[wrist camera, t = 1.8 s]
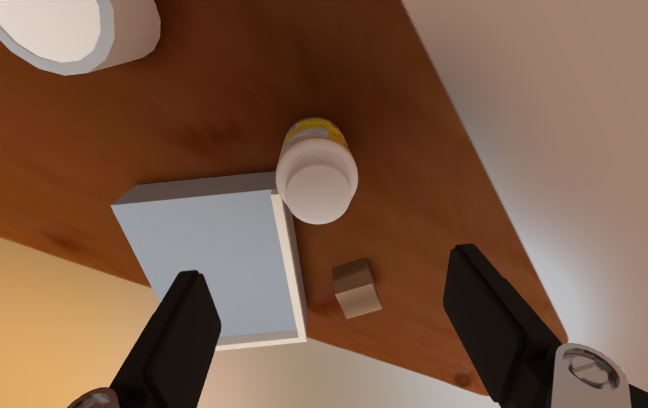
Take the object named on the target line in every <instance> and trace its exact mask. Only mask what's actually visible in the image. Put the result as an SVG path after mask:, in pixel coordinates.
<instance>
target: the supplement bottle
mask: <svg viewBox="0 0 648 408" xmlns="http://www.w3.org/2000/svg"><path fill="white" fill-rule="evenodd" d="M357 184H358V171H357V167H356V164H355V161H354V159H353V157H352V154H351V152H350V150H349V147H348V145H347V143H346V141H345V138H344V136H343V134H342V132H341V131H340V129H339V128H338V127H337V126H336V125H335V124H334V123H332V122H331V121H329V120H327V119H324V118H320V117H308V118H305V119H302V120H300V121H298V122H297V123H295V124H294V125H293V126H292V127H291V128H290V129H289V131H288V132H287V134H286V136H285V139H284V142H283V146H282V150H281V154H280V158H279V161H278V165H277V169H276V186H277V190H278V192H279V195H280V197H281V198H282V200H283V201H284V202H285V203H286V204H287V205H288V207H289V209H290V211H291V212H292V213H293V214H294V215H295V216H296V217H297V218H299V219H300V220H302V221H304V222H306V223H310V224H326V223H329V222H332V221H334V220H336V219H338V218H339V217H340V216H341V215H343V213H344V212H345V211H346V210H347V208H348V206H349V204H350V200H351V199H352V197H353V196H354V194H355V191H356V188H357Z"/></svg>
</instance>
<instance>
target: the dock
mask: <svg viewBox="0 0 648 408" xmlns="http://www.w3.org/2000/svg"><path fill="white" fill-rule="evenodd" d="M110 206H111V208H112V210H113V212H114V214H115V216H116V218H117V220H118V221H119V223H120V225H121V227H122V229H123V231H124V233H125V235H126V237H127V239H128V241H129V243H130V245H131V247H132V249H133V251H134V253H135V255H136V257H137V259H138V261H139V263H140V265H141V267H142V269H143V271H144V273H145V275H146V277H147V279H148V281H149V283H150V285H151V287H152V289H153V290H154V292H155V294H156V296H157V298H158V300H159V302H160V303H161V301H162V300H163V298H164V296H165V295H166V293H167V291H168V290H169V288H170V286H171V285H172V283H173V281H174V280H175V278H176V276H177V275H178V273H179V272H181V271H189V270H197V271H198V272H199V273H202V274H203V275H204V277H205V280H206V283H207V285H208V288H209V291H210V293H211V296H212V299H213V301H214V304H215V307H216V310H217V312H218V315H219V318H220V320H221V333H220V336H219V339H218V342H217V345H216V348H215V351H220V350H230V349H239V348H249V347H258V346H269V345H278V344H289V343H298V342H307V303H306V297H305V290H304V284H303V278H302V272H301V266H300V260H299V253H298V247H297V241H296V235H295V229H294V223H293V216H292V212H291V211H290V209H289V207H288V205H287V204H286V203H285V202H284V201H283V200H282V198H281V197H280V195H279V192H278V190H277V186H276V171H272V172H262V173H252V174H241V175H231V176H221V177H211V178H201V179H191V180H181V181H171V182H161V183H151V184H141V185H136V186H134V187H133V188H132V189H131V190H129V191H128V192H127V193H125V194H124V195H123V196H122V197H120V198H119V199H118V200H117V201H115V202H114V203H113V204H112V205H110Z"/></svg>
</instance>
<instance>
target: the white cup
mask: <svg viewBox="0 0 648 408" xmlns="http://www.w3.org/2000/svg"><path fill="white" fill-rule="evenodd" d="M160 24H161V20H160V17H159V14H158V11H157V8H156V4H155V2H154V0H0V40H1V41H2V43H3V44H4V45H5V46H6V47H7V48H8V49H9V50H10V51H11V52H13V53H14V54H16V55H18V56H19V57H21V58H23V59H24V60H26V61H27V62H29V63H31V64H32V65H34V66H35V67H37V68H39V69H43V70H46V71H50V72H54V73H57V74H61V75H65V76H66V75H74V74H82V73H89V72H93V71H96V70H100V69H104V68H107V67H111V66H115V65H118V64H122V63H126V62H129V61H133V60H137V59H140V58H143V57H145V56H146V55H148V54H149V53H150V52H152V51H153V50H154V49H155V47H156V45H157V43H158V41H159V38H160Z"/></svg>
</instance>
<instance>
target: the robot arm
mask: <svg viewBox="0 0 648 408" xmlns="http://www.w3.org/2000/svg"><path fill="white" fill-rule="evenodd" d="M443 305H444V309H445V311H446V313H447V315H448V317H449V319H450V321H451V323H452V325H453V327H454V328H455V330H456V332H457V334H458V336H459V338H460V340H461V342H462V344H463V346H464V348H465V349H466V351H467V353H468V355H469V357H470V359H471V361H472V363H473V365H474V367H475V369H476V371H477V372H478V374H479V376H480V378H481V380H482V382H483V384H484V386H485V388H486V390H487V392H488V393H489V395H490V397H491V399H492V400H493V401H494V402H498V403H499V405H500V407H501V408H648V392H645V391H643V390H641V389H639V388H637V387H635V386H633V385H630V384H628V381H627V378H626V376H625V374H624V373H623V372H622V370H621V369H620V367H619V366H618V365H616V364H615V363H614V362H613V361H612V360H611V359H610V358H608V357H607V356H605V355H604V354H602V353H601V352H599V351H597V350H595V349H592V348H590V347H588V346H584V345H581V344H574V343H568V344H562V343H561V342H560V341H559V339H558V338H557V337H556V336H555V335H554V334H553V332H552V331H551V330H550V329H549V328H548V327H547V326H546V324H545V323H544V322H543V321H542V320H541V319H540V317H539V316H538V315H537V314H536V313H535V312H534V311H533V309H532V308H531V307H530V306H529V305H528V304H527V302H526V301H525V300H524V299H523V298H522V297H521V296H520V294H519V293H518V292H517V291H516V290H515V289H514V287H513V286H512V285H511V284H510V283H509V282H508V281H507V280H506V279H505V278H503V277H502V276H501V275H500V274H499V272H498V271H497V270H496V269H495V268H494V267H493V265H492V264H491V263H490V262H489V261H488V260H487V258H486V257H485V256H484V255H483V254H482V253H481V251H480V250H479V249H478V248H477V247H476V246H475V245H474V244H472V243H471V244H461V245H456V246H455V249H452V250H451V252H450V258H449V264H448V271H447V278H446V284H445V291H444V298H443ZM220 333H221V320H220V318H219V315H218V312H217V310H216V307H215V304H214V301H213V299H212V296H211V293H210V291H209V288H208V285H207V283H206V280H205V277H204V275H203V274H202V273H199V272H198V271H197V270H189V271H181V272H179V273H178V275H177V276H176V278H175V280H174V281H173V283H172V285H171V286H170V288H169V290H168V291H167V293H166V295H165V296H164V298H163V300H162V301H161V303H160V305H159V306H158V308H157V310H156V312H155V313H154V314H153V315H152V317H151V318H150V320H149V322H148V323H147V325H146V327H145V328H144V330H143V332H142V333H141V335H140V337H139V338H138V340H137V342H136V343H135V345H134V347H133V348H132V350H131V352H130V353H129V355H128V356H127V358H126V360H125V361H124V363H123V365H122V366H121V368H120V370H119V371H118V373H117V375H116V377H115V378H114V380H113V382H112V383H111V385H110V387H109V388H108V387H104V388H103V387H102V388H97V389H94V390H91V391H89V392H87V393H85V394H83V395H82V396H80V397H79V398H78V399H76V400H75V401H74V402H72V403H71V404H70V405H69V406H68V407H67V408H196V407H197V404H198V401H199V398H200V395H201V392H202V389H203V386H204V383H205V379H206V376H207V373H208V370H209V367H210V364H211V361H212V358H213V355H214V351H215V348H216V345H217V342H218V339H219V336H220Z"/></svg>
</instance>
